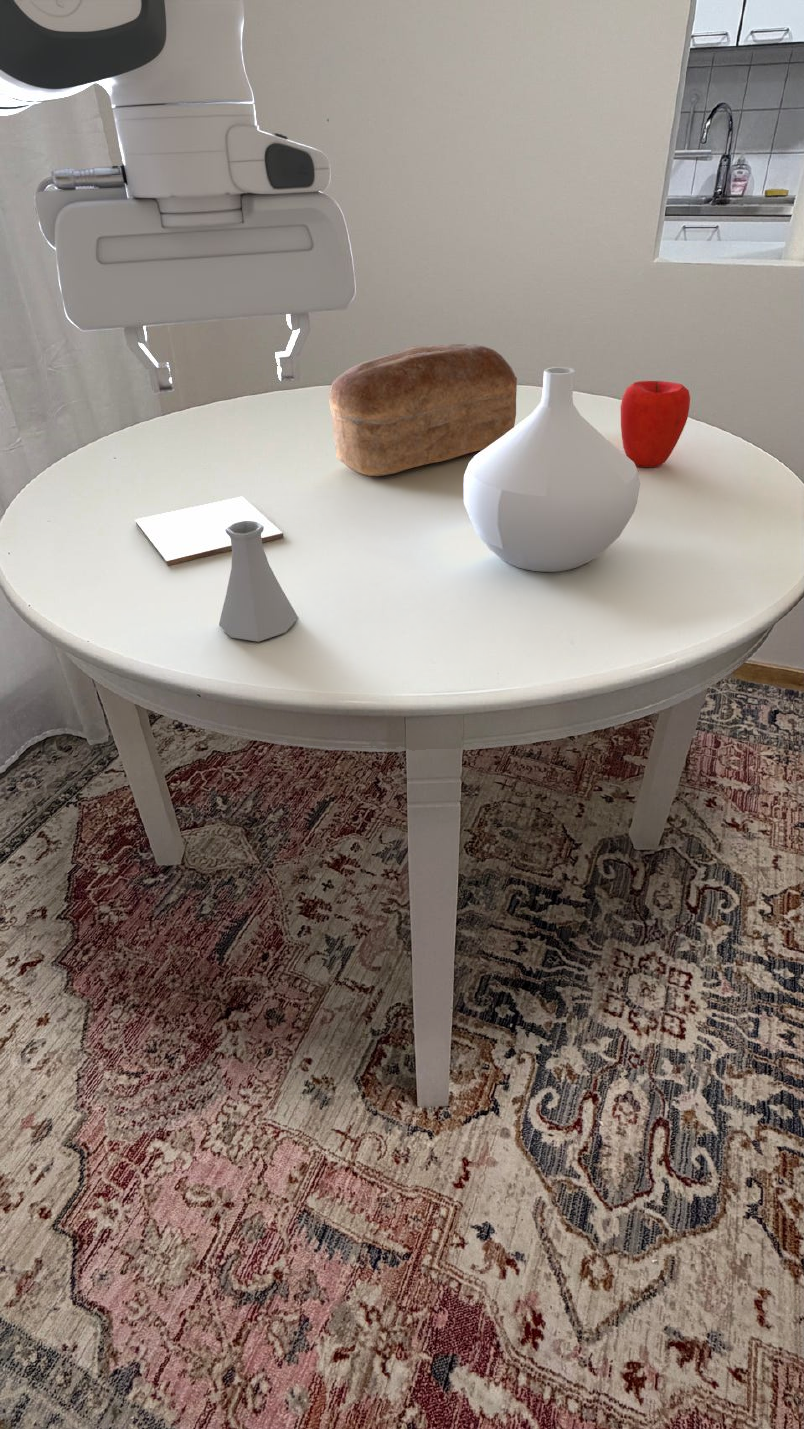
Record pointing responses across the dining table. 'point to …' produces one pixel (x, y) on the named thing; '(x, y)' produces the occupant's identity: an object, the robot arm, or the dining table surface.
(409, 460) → the bread
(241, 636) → the flask
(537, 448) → the vase
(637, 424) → the apple
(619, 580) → the dining table surface
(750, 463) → the dining table surface
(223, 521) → the coaster
